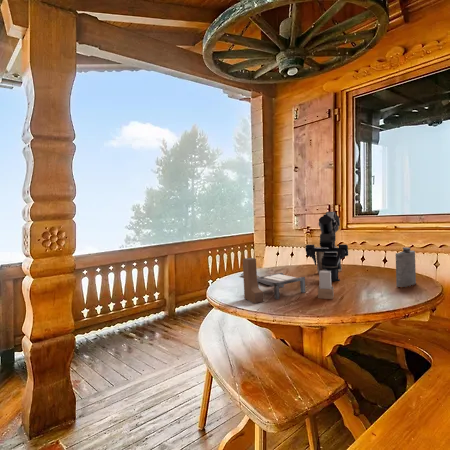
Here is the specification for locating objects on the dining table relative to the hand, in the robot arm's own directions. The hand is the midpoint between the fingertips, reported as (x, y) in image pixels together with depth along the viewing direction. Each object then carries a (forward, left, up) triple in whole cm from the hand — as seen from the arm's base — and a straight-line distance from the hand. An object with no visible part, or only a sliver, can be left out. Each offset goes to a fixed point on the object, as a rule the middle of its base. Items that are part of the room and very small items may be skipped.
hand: (326, 265), depth 140 cm
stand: (+3, +6, -13) cm, 14 cm away
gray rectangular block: (+3, +6, -9) cm, 11 cm away
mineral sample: (-23, -43, -13) cm, 51 cm away
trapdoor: (+20, -8, -8) cm, 23 cm away
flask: (-41, -1, -13) cm, 43 cm away
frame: (+20, -8, -13) cm, 25 cm away
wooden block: (+34, +2, -13) cm, 37 cm away
